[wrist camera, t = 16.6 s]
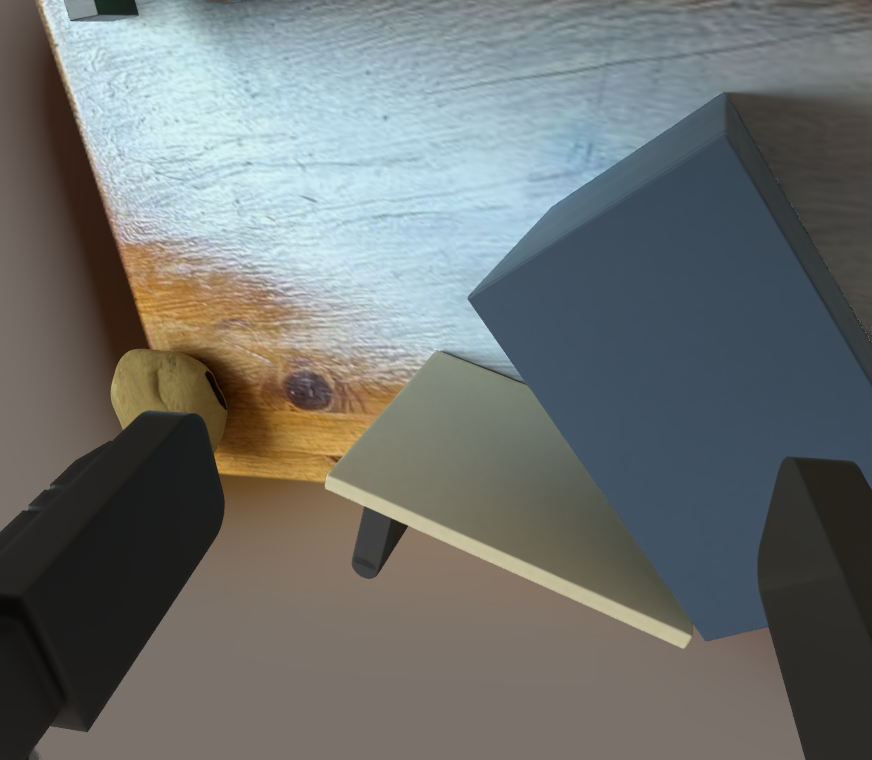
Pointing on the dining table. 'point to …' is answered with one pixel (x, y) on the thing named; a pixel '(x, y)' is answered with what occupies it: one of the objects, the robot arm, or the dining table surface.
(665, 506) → the cupboard
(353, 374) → the dining table surface
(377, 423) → the cupboard door
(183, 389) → the potato
